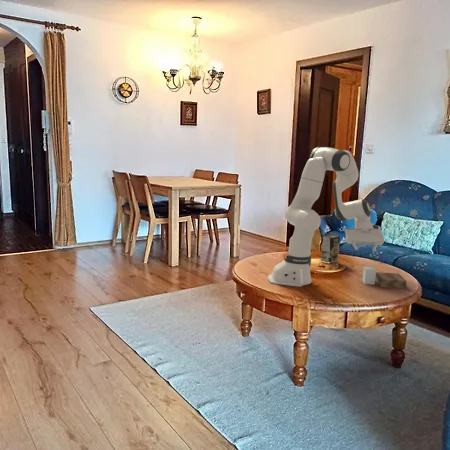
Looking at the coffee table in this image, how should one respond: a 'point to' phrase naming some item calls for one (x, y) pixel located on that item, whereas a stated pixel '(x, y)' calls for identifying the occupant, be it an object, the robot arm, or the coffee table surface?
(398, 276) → the walnut plinth
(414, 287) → the coffee table surface
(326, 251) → the coffee box
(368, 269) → the light grey block
